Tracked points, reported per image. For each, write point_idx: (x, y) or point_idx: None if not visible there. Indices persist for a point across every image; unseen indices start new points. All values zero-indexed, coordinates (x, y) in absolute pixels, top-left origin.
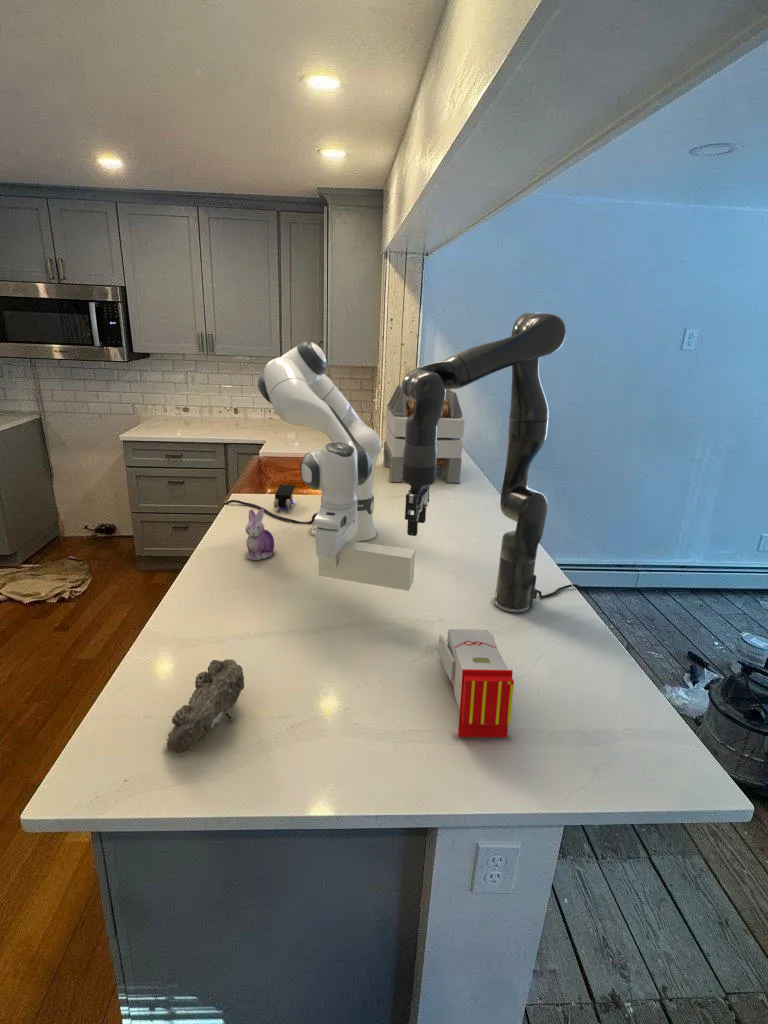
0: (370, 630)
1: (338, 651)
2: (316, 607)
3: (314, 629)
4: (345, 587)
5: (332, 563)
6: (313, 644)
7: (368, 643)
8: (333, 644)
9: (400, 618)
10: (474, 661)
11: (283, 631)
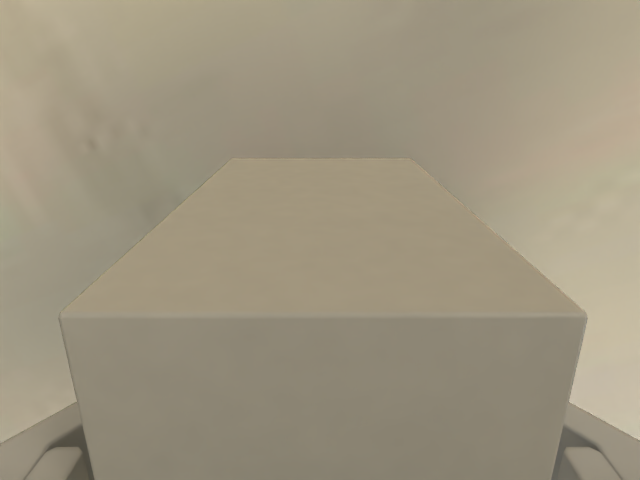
0: None
1: (23, 314)
2: (318, 87)
3: (119, 162)
4: (579, 155)
5: None
6: (9, 206)
7: None
8: (56, 281)
9: None
10: None
11: (23, 17)
